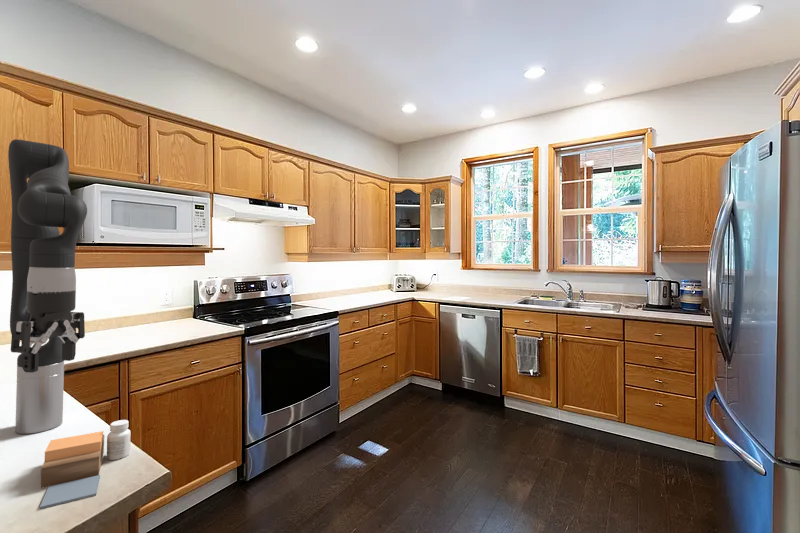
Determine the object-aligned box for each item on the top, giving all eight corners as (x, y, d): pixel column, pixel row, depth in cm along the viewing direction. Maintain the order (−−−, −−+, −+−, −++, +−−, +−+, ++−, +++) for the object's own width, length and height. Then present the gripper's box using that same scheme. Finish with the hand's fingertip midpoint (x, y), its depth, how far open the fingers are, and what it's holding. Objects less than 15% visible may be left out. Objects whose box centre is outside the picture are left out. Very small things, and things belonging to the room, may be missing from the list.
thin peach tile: (50, 449, 82) (50, 440, 82) (103, 439, 87) (103, 431, 87) (44, 461, 77) (44, 451, 77) (100, 450, 82) (100, 441, 82)
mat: (48, 488, 75) (48, 486, 75) (100, 476, 79) (100, 474, 79) (39, 509, 69) (39, 506, 69) (96, 495, 73) (96, 493, 73)
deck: (53, 461, 85) (53, 443, 85) (103, 451, 90) (104, 434, 90) (40, 488, 75) (41, 468, 75) (98, 475, 80) (99, 456, 80)
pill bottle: (117, 450, 90) (118, 418, 90) (134, 451, 90) (135, 419, 90) (101, 459, 86) (102, 425, 86) (119, 461, 86) (120, 427, 86)
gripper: (64, 285, 86) (62, 356, 86) (-2, 291, 72) (-4, 375, 72) (97, 287, 86) (95, 357, 87) (38, 292, 72) (36, 377, 72)
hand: (50, 365), depth 79 cm, fingers open, 8 cm apart
